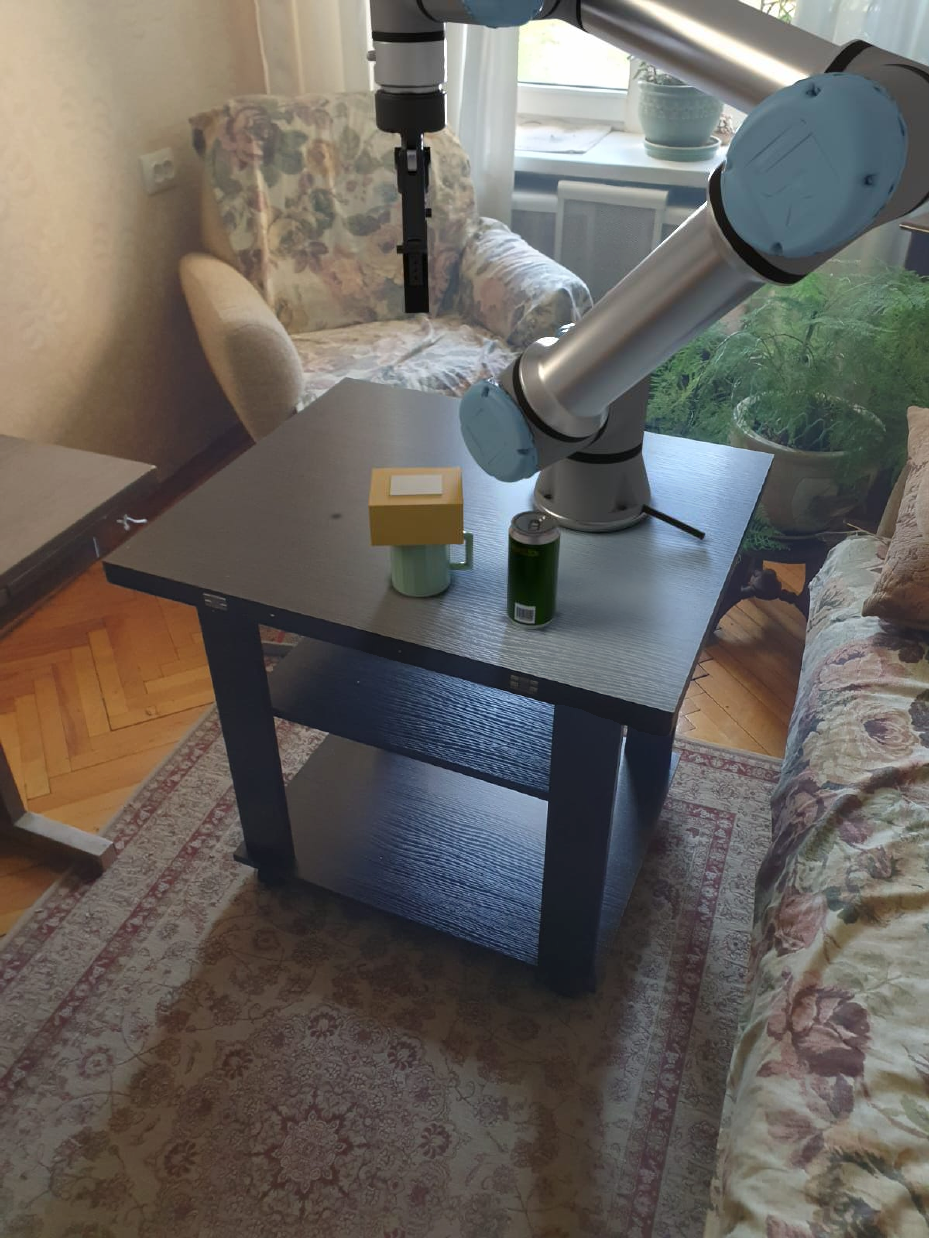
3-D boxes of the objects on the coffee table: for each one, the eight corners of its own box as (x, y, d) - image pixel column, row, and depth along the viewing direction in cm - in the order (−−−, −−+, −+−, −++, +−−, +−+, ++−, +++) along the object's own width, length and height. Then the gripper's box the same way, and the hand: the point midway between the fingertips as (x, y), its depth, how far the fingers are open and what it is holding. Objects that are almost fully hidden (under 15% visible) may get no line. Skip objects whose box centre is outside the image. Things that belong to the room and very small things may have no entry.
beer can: (552, 633, 101) (558, 538, 94) (503, 628, 101) (505, 533, 94) (557, 604, 105) (563, 511, 98) (509, 600, 106) (512, 507, 99)
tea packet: (461, 505, 108) (461, 465, 105) (463, 544, 101) (463, 502, 98) (375, 507, 108) (372, 467, 105) (371, 546, 101) (368, 504, 98)
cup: (391, 598, 106) (387, 541, 102) (393, 565, 112) (389, 510, 107) (474, 596, 107) (474, 539, 102) (472, 563, 112) (472, 509, 108)
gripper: (378, 73, 108) (388, 263, 120) (368, 106, 88) (382, 330, 100) (443, 73, 108) (446, 262, 120) (449, 105, 88) (452, 328, 100)
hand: (417, 293), depth 110 cm, fingers open, 13 cm apart
